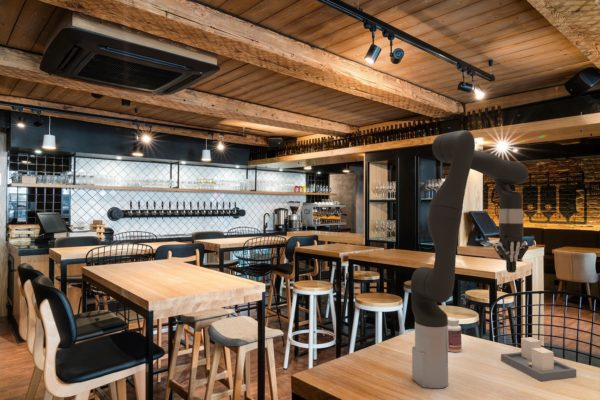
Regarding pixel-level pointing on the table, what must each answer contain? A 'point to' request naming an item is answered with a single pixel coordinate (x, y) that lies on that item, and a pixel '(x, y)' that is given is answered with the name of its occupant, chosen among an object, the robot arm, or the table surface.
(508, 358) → the switch board
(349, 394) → the table surface
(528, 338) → the tab left
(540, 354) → the tab right
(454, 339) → the pill bottle
